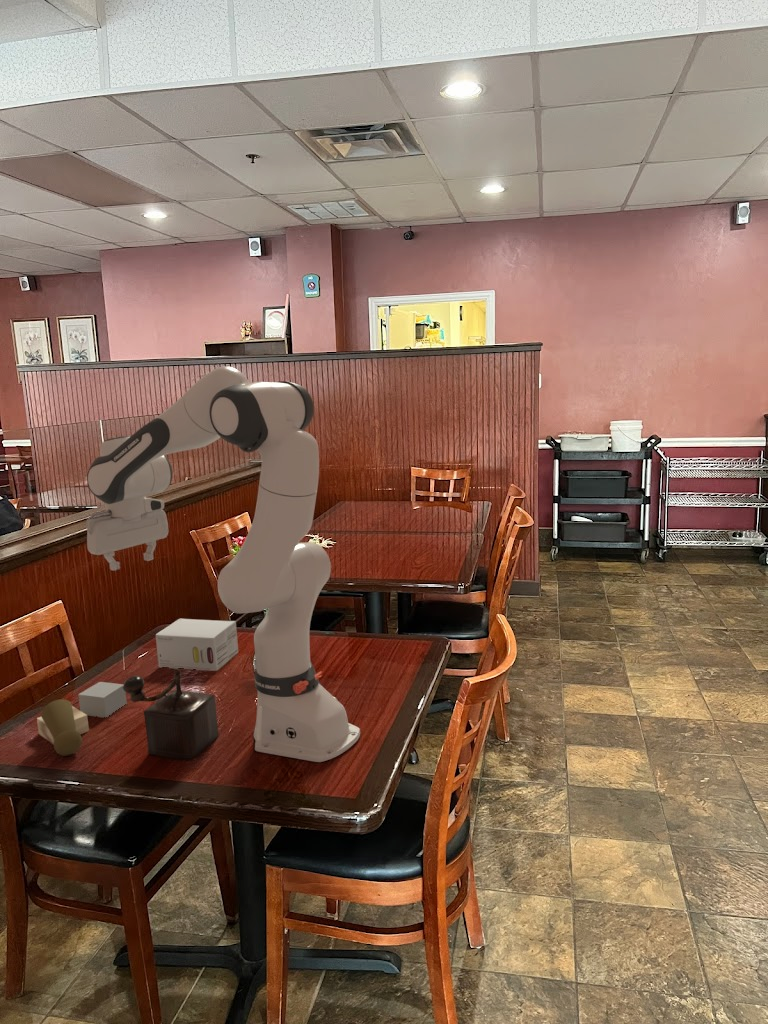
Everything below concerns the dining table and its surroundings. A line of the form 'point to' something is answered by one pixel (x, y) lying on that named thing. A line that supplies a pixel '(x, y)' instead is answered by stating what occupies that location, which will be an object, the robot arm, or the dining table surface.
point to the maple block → (80, 725)
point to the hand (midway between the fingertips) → (132, 564)
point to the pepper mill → (176, 719)
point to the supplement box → (197, 644)
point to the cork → (62, 726)
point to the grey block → (102, 699)
